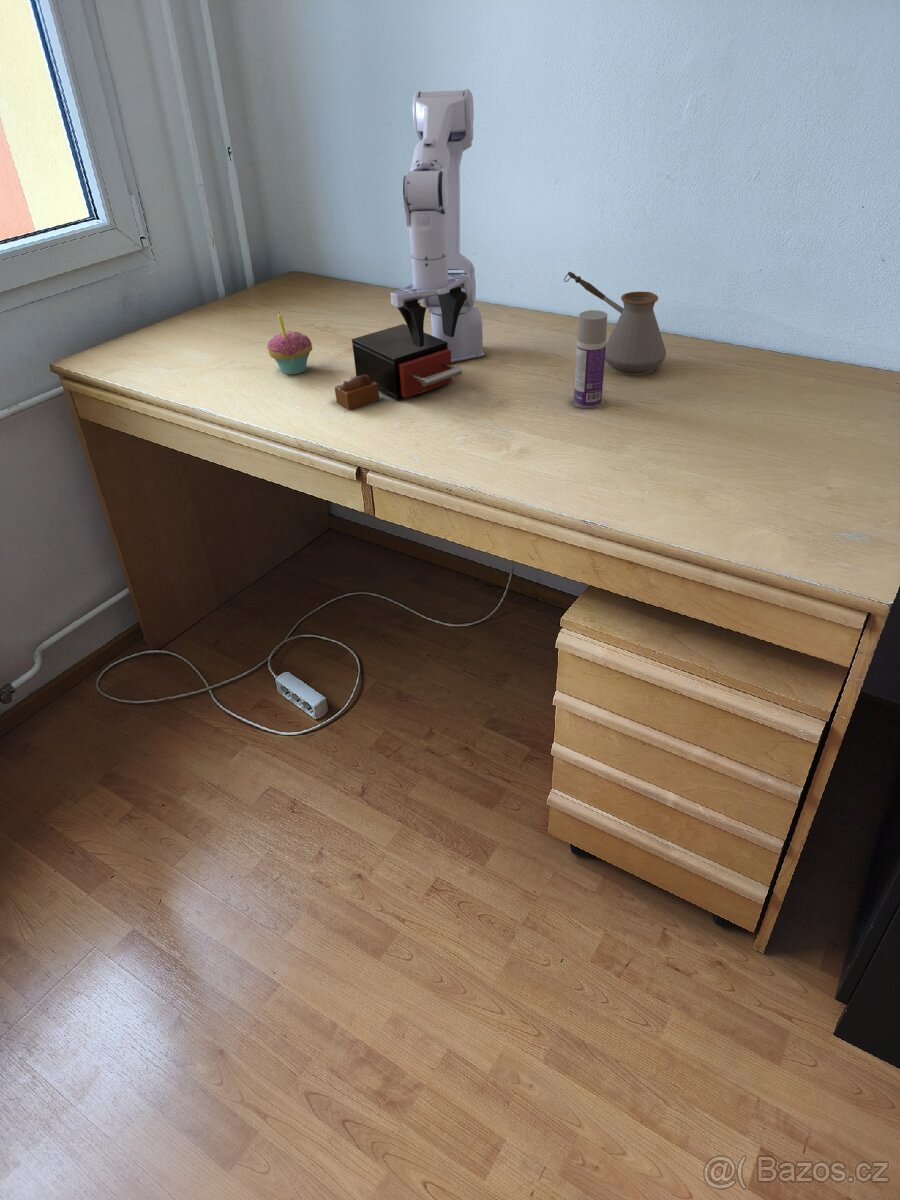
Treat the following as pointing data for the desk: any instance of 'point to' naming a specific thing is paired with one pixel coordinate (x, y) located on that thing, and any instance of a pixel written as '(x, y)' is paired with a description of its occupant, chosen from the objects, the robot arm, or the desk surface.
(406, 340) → the black rectangular box
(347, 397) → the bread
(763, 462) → the desk surface
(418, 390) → the drawer
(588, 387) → the container
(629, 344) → the coffee pot
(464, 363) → the desk surface
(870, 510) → the desk surface
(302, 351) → the cupcake
